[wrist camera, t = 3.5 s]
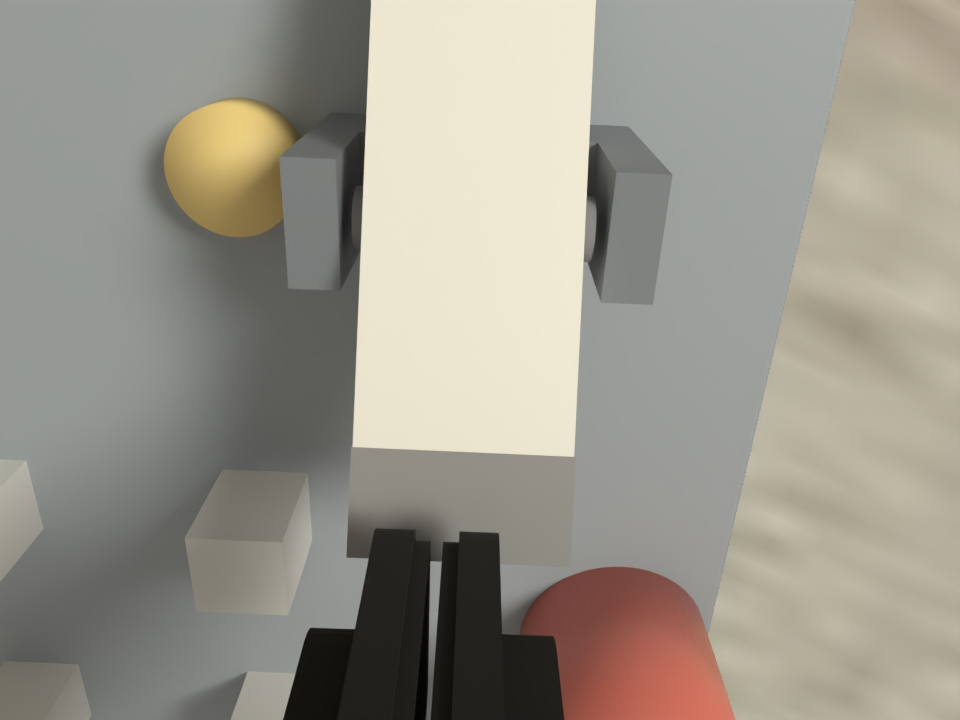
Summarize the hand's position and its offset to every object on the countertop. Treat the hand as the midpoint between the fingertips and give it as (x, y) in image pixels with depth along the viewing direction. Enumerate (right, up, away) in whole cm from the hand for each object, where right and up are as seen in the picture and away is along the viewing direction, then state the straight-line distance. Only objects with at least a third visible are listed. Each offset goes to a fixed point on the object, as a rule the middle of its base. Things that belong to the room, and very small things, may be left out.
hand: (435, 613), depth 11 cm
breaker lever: (0, +6, +1) cm, 6 cm away
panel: (-3, +4, +8) cm, 9 cm away
